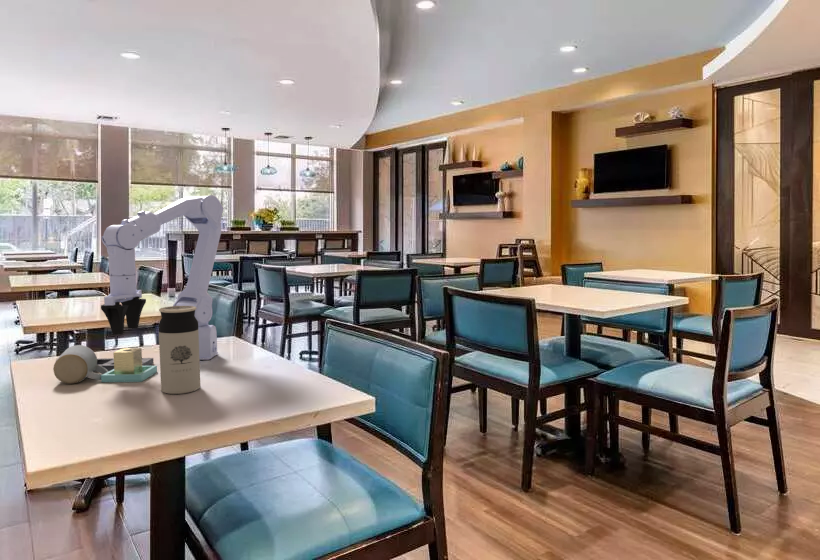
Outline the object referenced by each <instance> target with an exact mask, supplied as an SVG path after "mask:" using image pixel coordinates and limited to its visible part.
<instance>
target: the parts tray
mask: <svg viewBox="0 0 820 560" xmlns="http://www.w3.org/2000/svg"><path fill="white" fill-rule="evenodd" d="M142 371H143V372H142V373H140V374H114V369H113V370H111V371H109V372H107V373H105V374H103V375H101V380H100V382H101V383H142V382H144V381H146V379H149V377H152V376H154V375H155V374H157V373H158V365H150V366H142Z"/></svg>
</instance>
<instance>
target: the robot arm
mask: <svg viewBox="0 0 820 560" xmlns="http://www.w3.org/2000/svg"><path fill="white" fill-rule="evenodd" d="M223 211H224V207H223V205H222V203H221V201H220V200H219V198H218V197H217V196H216V195H213V194H209V195H197V196H196V195H194V196H192V195H187V196H185V197H182V198H179V199H177V200H176V201H174V202H173V203H170V204H168V205H166V206H165V207H162V208H161V209H159V210H157V211H156V212H151V211H145V210H140V211H137V215H135V216H133V217H131V218H129V219H127V218H125V219H122V220H121V221H120V224H112V225H109V226H107V227H106V228H105V230H104V231H103V235H102V236H101V237H100V238H101V242H102V244H103V245H104V246H105V248H106V252H107V253H106V254H107V255H108V256H107V259H108V273H109V290H110V291H109V293H108V295H107V296H104V297H103V302H104V304H101V305H100V310H101V311H102V312H103V313H104V315H105V317H106V319H107V321H108V324H109V327H110V330H111V334H112V335H123V334H124V329H125V319H126V325H127V329H131V330H132V329H134V330H135V329H138V328H139V325H140V319H141V315H142V311H143V308H144V306H145V305H146V303H147V302H146V301H147V299H146V298H143V293H142V289H137V287H138V285H137V270H136V269H137V268H136V250H135V249H136V247H138V246H139V244H140V243H141V242H142V241H143V240H145V239H147V238H149V237H151V236H153V235H155V234H157V233H158V232H160V231H161V227H162V226H163V225H164V224H167V223H169V222H172V221H173V220H175V219H178V218H181V217H184V218H185V219H186V220H187V221H188V222H189V223H190V224H191V225H192V226H193V227H194V228H195V229H197V231H198V233H199V234H198V237H197V242H196V246H195V250H194V253H193V259H192V263H191V267H190V269H189V274H188V279H187V281H186V282H187V283H186V287H185V288H184V289H183V290H182V291H180V292H179V293H178V294H177V295H178V296H177V298H176V301H175V302H174V303H173V305H172V306H195V307H196V310H195V315H194V316H195V318H196V319H197V321H198V332H199V360H200V361H202V360H203V361H205V360H207V361H209V360H212V358H214V357H215V356H216V355H218V354H219V352H218V337H217V336H218V334H217V327H216V326H215V325H214V324H209V322H210V321H211V320H212V317H213V297H212V296H211V295H210V294H209V293H208V289H209V286H210V281H211V278H212V273H213V270H214V269H213V268H214V265H215V264H214V263H215V260H216V257H217V256H216V255H217V251H218V247H219V243H220V239H221V235H222V216H223Z"/></svg>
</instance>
